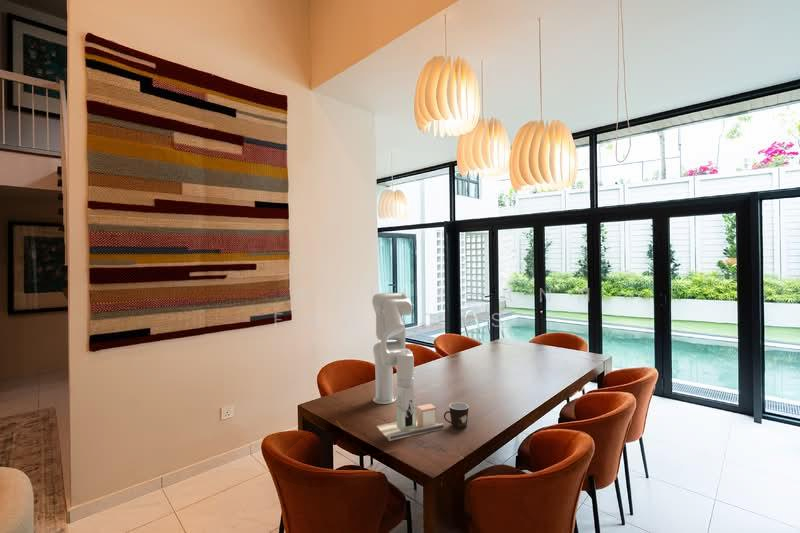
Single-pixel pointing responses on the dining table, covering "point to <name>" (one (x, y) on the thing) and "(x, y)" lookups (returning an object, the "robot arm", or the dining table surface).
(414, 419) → the green tin
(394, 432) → the shelf board
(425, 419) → the pink rectangular block
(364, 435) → the dining table surface
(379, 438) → the dining table surface
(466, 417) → the coffee mug
